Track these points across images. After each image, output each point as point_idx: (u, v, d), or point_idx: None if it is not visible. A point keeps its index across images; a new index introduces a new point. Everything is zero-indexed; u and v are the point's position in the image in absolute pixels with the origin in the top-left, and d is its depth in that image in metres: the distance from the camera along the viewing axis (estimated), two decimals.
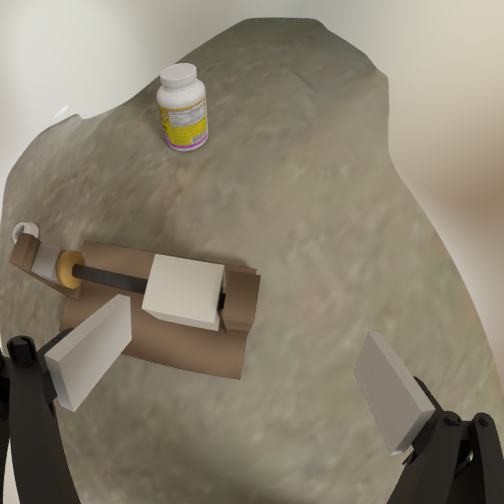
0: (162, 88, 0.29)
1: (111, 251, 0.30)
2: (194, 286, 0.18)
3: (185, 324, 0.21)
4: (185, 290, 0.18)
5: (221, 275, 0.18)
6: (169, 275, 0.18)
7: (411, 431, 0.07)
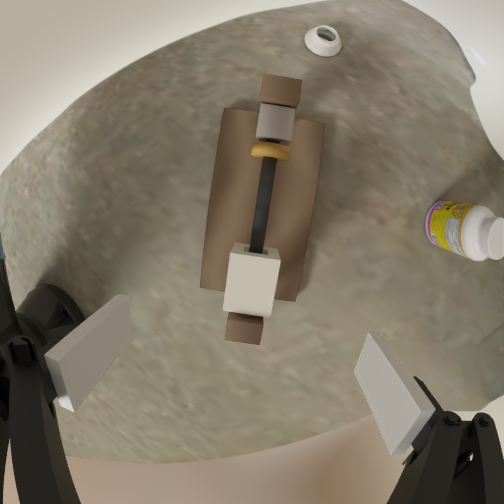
0: (486, 215, 0.22)
1: (313, 158, 0.30)
2: (251, 296, 0.22)
3: None
4: (247, 289, 0.22)
5: (261, 315, 0.22)
6: (260, 275, 0.22)
7: (411, 431, 0.07)
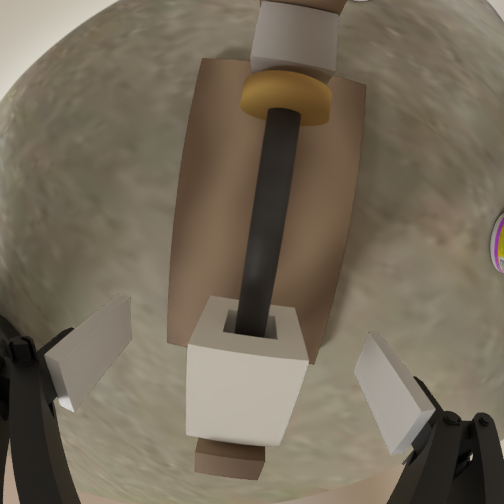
0: None
1: (351, 138, 0.17)
2: (241, 420, 0.09)
3: None
4: (233, 410, 0.09)
5: (261, 444, 0.09)
6: (260, 388, 0.09)
7: (411, 431, 0.07)
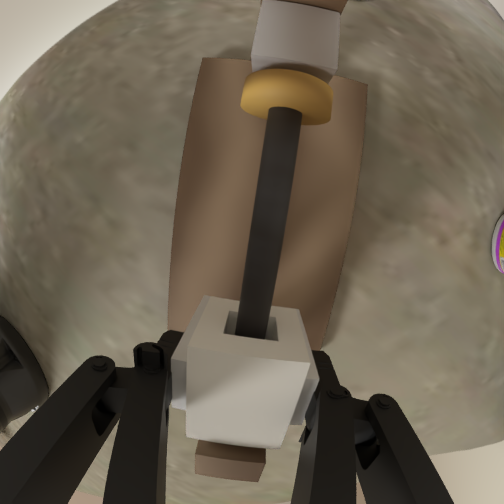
0: None
1: (352, 137, 0.17)
2: (241, 422, 0.09)
3: None
4: (233, 412, 0.09)
5: (262, 446, 0.09)
6: (261, 390, 0.09)
7: (298, 400, 0.09)
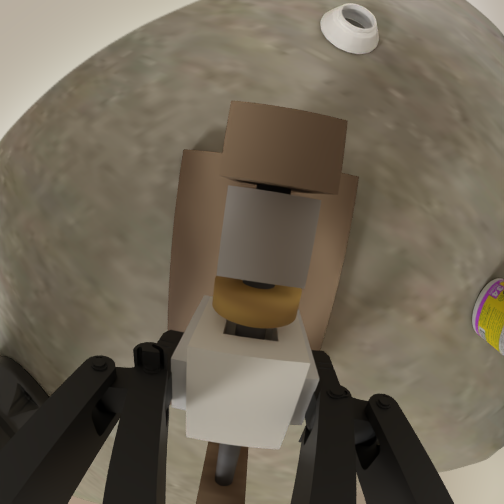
0: None
1: (336, 240, 0.18)
2: (241, 422, 0.09)
3: None
4: (233, 412, 0.09)
5: (262, 446, 0.09)
6: (261, 390, 0.09)
7: (298, 400, 0.09)
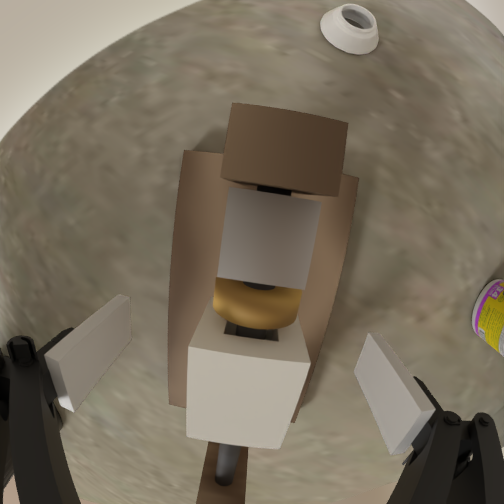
0: None
1: (337, 241, 0.18)
2: (242, 422, 0.09)
3: None
4: (234, 412, 0.09)
5: (262, 446, 0.09)
6: (262, 390, 0.09)
7: (411, 431, 0.07)
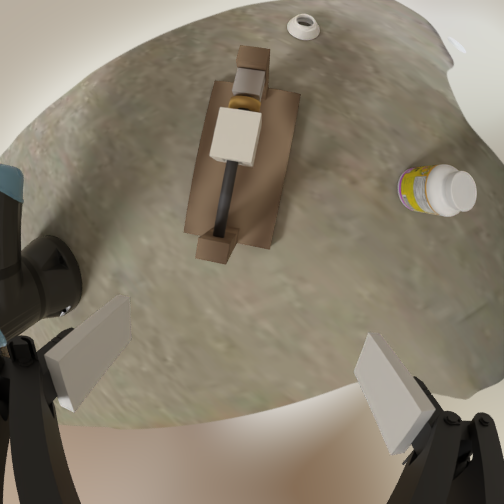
0: (450, 171, 0.25)
1: (289, 122, 0.33)
2: (235, 142, 0.24)
3: None
4: (232, 136, 0.24)
5: (243, 160, 0.24)
6: (244, 124, 0.23)
7: (411, 431, 0.07)
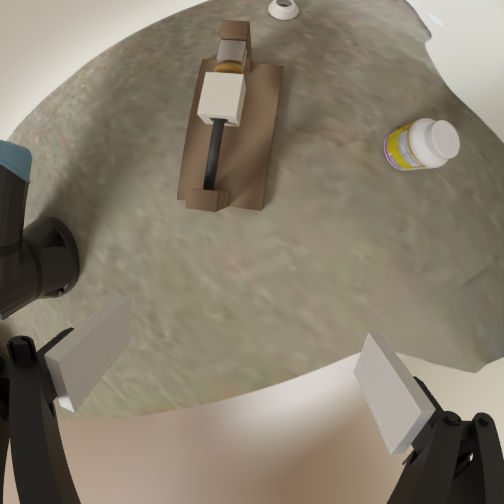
0: (431, 123, 0.25)
1: (273, 91, 0.33)
2: (220, 100, 0.24)
3: None
4: (218, 95, 0.24)
5: (228, 115, 0.25)
6: (228, 84, 0.24)
7: (411, 431, 0.07)
